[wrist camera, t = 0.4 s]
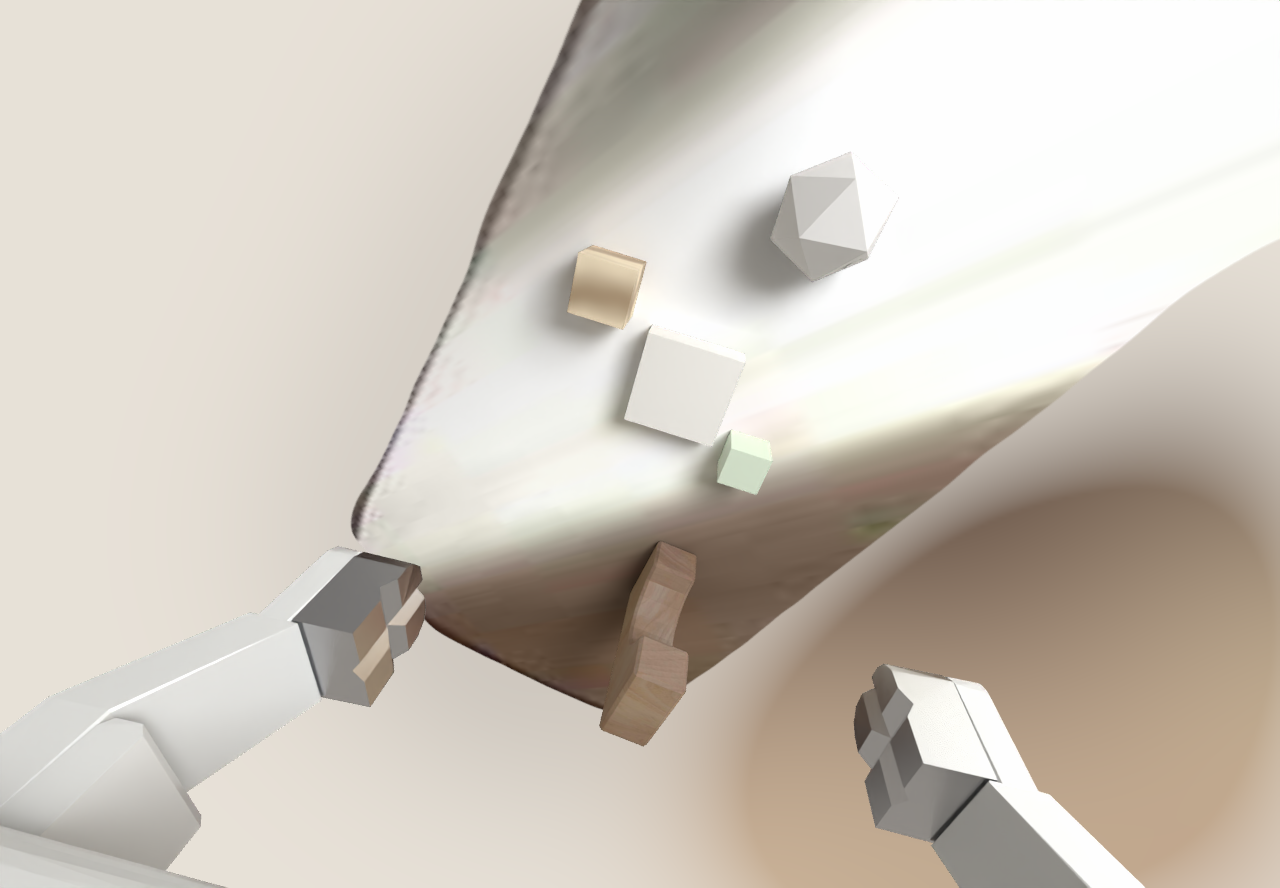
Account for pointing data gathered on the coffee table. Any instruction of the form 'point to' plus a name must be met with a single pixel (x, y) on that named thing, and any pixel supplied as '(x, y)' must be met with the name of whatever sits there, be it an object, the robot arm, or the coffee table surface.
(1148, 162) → the coffee table surface
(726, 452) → the sage cube
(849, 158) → the die
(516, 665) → the coffee table surface
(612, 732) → the decorative block
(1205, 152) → the coffee table surface
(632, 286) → the beech cube
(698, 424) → the foundation slab
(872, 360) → the coffee table surface
